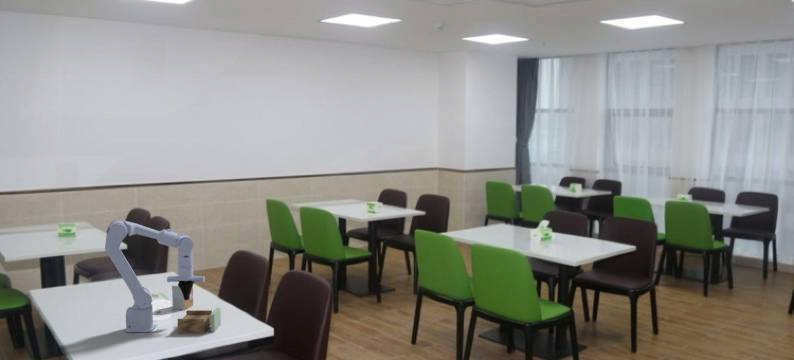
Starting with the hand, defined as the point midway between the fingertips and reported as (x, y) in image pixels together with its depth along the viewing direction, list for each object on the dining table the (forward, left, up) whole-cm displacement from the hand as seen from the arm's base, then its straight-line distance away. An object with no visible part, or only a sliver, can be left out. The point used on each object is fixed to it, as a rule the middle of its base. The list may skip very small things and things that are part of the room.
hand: (186, 299), depth 264 cm
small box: (-9, +23, -10) cm, 27 cm away
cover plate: (+12, -6, -6) cm, 15 cm away
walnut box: (+5, -6, -10) cm, 13 cm away
